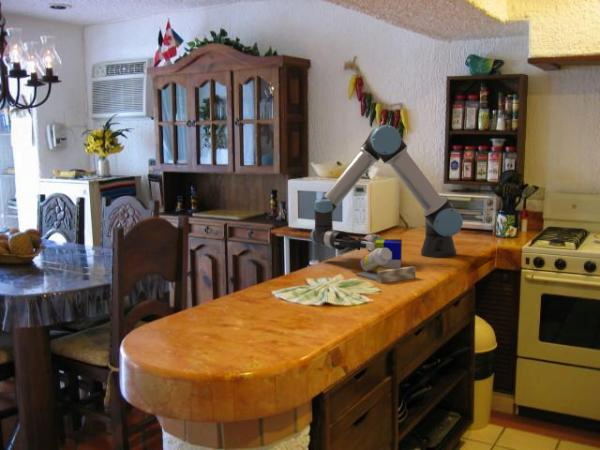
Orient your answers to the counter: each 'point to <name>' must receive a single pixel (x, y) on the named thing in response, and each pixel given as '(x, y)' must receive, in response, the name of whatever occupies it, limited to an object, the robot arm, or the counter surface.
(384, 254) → the supplement bottle
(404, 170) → the robot arm
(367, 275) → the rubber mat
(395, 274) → the backstop rail
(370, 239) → the decorative fruit
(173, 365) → the counter surface
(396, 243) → the puzzle toy
